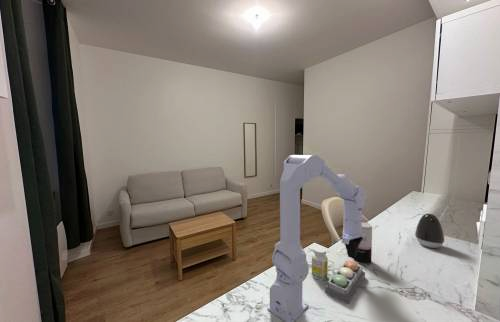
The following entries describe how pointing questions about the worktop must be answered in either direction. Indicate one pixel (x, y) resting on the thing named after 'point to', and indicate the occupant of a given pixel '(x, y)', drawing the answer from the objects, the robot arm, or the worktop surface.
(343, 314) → the worktop surface
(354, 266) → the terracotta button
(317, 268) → the supplement bottle
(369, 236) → the grey black container
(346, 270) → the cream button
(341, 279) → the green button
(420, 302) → the worktop surface
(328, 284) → the tray of pastel eggs
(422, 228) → the dark egg shaped speaker
